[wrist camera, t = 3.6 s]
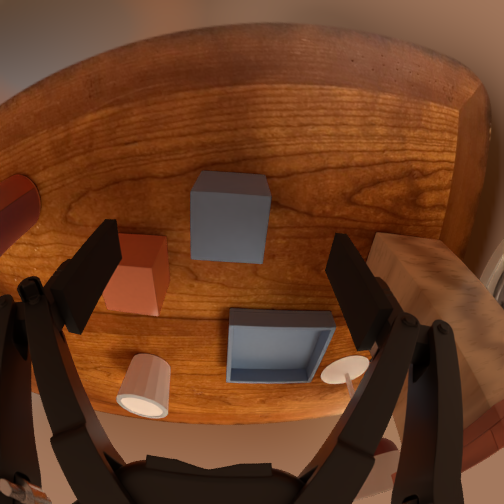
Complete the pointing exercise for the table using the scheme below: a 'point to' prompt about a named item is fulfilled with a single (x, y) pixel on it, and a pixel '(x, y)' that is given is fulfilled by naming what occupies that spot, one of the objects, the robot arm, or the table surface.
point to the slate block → (229, 217)
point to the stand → (464, 327)
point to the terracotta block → (139, 275)
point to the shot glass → (146, 387)
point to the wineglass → (386, 449)
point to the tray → (276, 345)
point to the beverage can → (17, 209)
